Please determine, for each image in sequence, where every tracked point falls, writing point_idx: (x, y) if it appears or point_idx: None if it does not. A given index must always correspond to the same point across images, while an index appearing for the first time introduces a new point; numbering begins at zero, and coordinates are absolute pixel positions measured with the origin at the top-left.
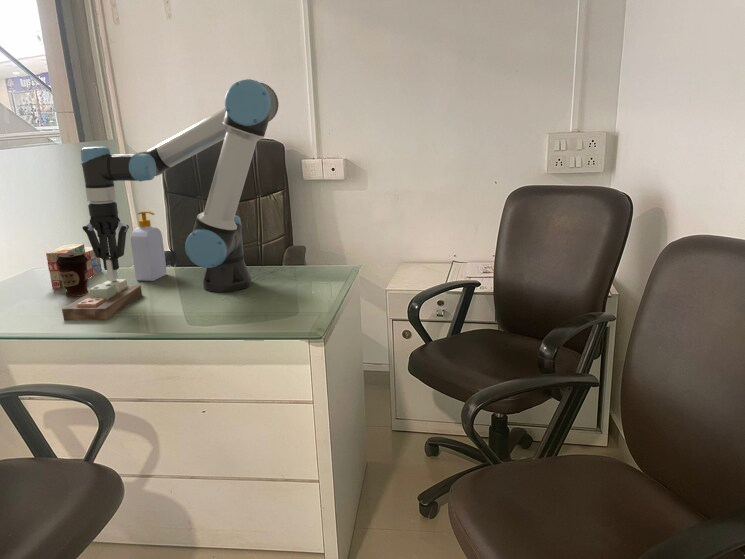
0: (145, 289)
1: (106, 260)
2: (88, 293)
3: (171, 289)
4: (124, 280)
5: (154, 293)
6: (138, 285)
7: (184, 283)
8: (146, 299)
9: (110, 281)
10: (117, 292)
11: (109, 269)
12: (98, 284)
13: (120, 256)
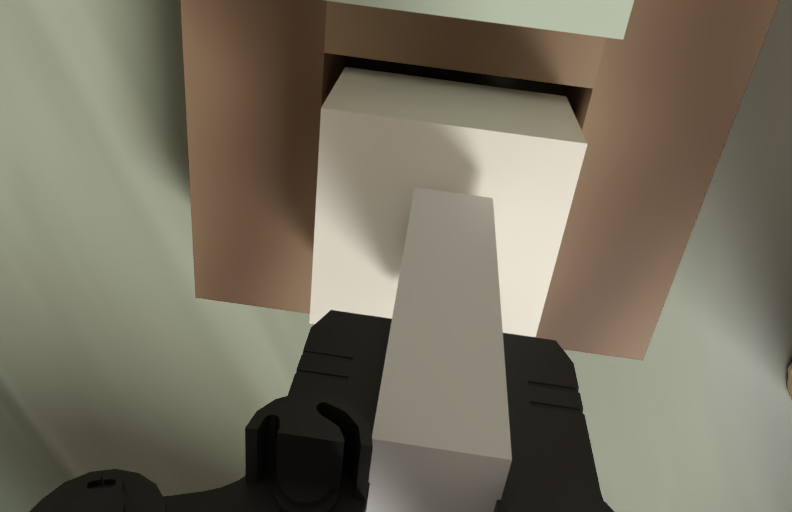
0: (278, 396)
1: (490, 452)
2: (788, 367)
3: (42, 359)
4: (312, 278)
5: (136, 275)
6: (217, 294)
7: (26, 481)
8: (116, 93)
9: None
10: (353, 33)
11: (448, 299)
12: (615, 25)
13: (63, 508)
